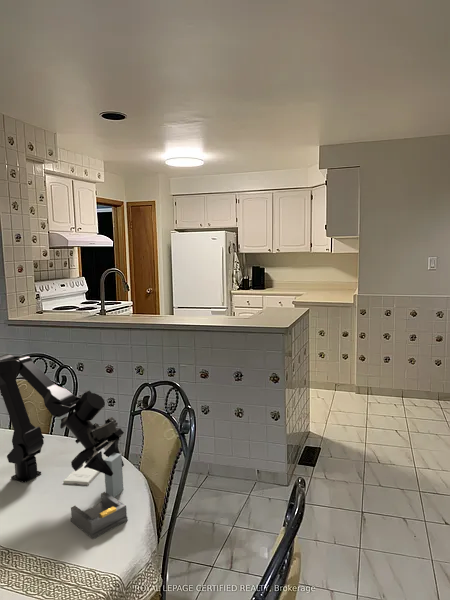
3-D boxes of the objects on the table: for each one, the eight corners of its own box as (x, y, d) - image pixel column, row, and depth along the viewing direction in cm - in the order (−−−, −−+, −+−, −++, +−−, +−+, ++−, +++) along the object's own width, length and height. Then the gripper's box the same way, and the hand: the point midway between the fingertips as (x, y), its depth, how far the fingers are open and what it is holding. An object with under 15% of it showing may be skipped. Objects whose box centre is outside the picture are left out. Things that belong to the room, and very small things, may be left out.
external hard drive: (106, 467, 146) (88, 486, 134) (83, 465, 147) (63, 485, 135) (105, 462, 146) (88, 481, 133) (82, 461, 147) (63, 480, 135)
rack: (70, 521, 116) (69, 504, 115) (104, 504, 123) (103, 488, 122) (93, 539, 108) (91, 521, 107) (127, 520, 115) (126, 503, 115)
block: (106, 497, 127) (103, 460, 125) (116, 488, 131) (114, 452, 130) (113, 498, 126) (111, 461, 124) (123, 489, 130) (121, 453, 129)
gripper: (77, 424, 119) (114, 469, 116) (117, 401, 136) (150, 440, 133) (55, 449, 122) (91, 493, 119) (97, 423, 139) (129, 462, 137)
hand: (117, 470), depth 127 cm, fingers closed on block, 5 cm apart
